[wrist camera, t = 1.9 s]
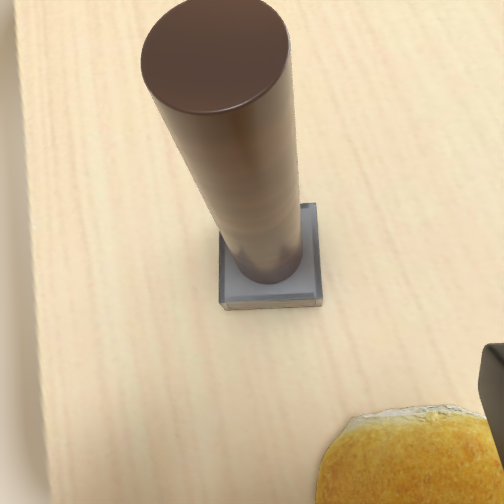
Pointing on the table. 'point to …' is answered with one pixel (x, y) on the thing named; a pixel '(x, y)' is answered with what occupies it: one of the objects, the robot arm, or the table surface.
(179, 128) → the handled stamp
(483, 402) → the robot arm
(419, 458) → the bread roll
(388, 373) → the table surface
